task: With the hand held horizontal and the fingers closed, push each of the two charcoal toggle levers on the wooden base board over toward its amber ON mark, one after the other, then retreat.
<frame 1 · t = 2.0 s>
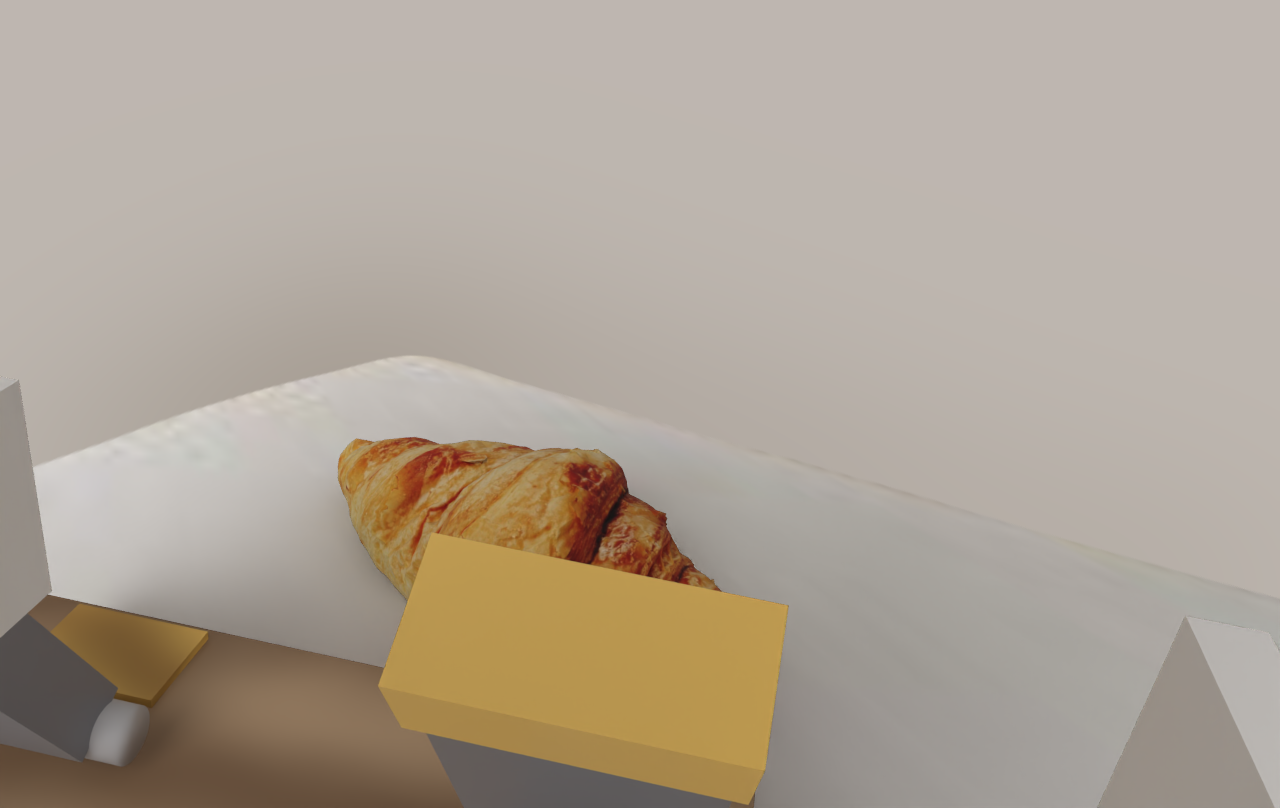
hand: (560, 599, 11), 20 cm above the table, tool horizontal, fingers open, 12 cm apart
lever 1: (594, 777, 22), point 10 cm above the table, hinge at -30.0°
croissant: (528, 593, 44), on the table
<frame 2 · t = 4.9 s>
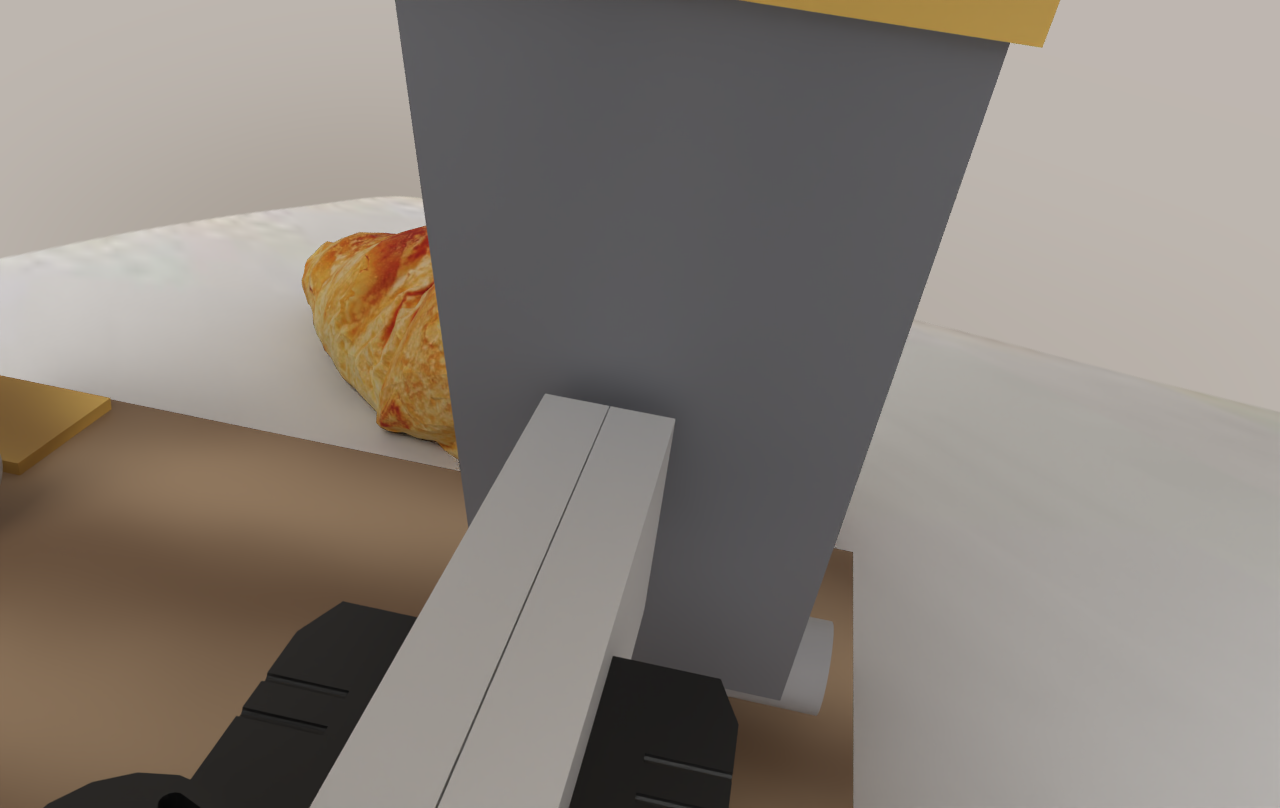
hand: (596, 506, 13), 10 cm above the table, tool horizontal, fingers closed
wooden base board: (224, 718, 21), on the table
lever 1: (667, 366, 13), point 11 cm above the table, hinge at -23.0°, touching gripper
croissant: (532, 419, 35), on the table
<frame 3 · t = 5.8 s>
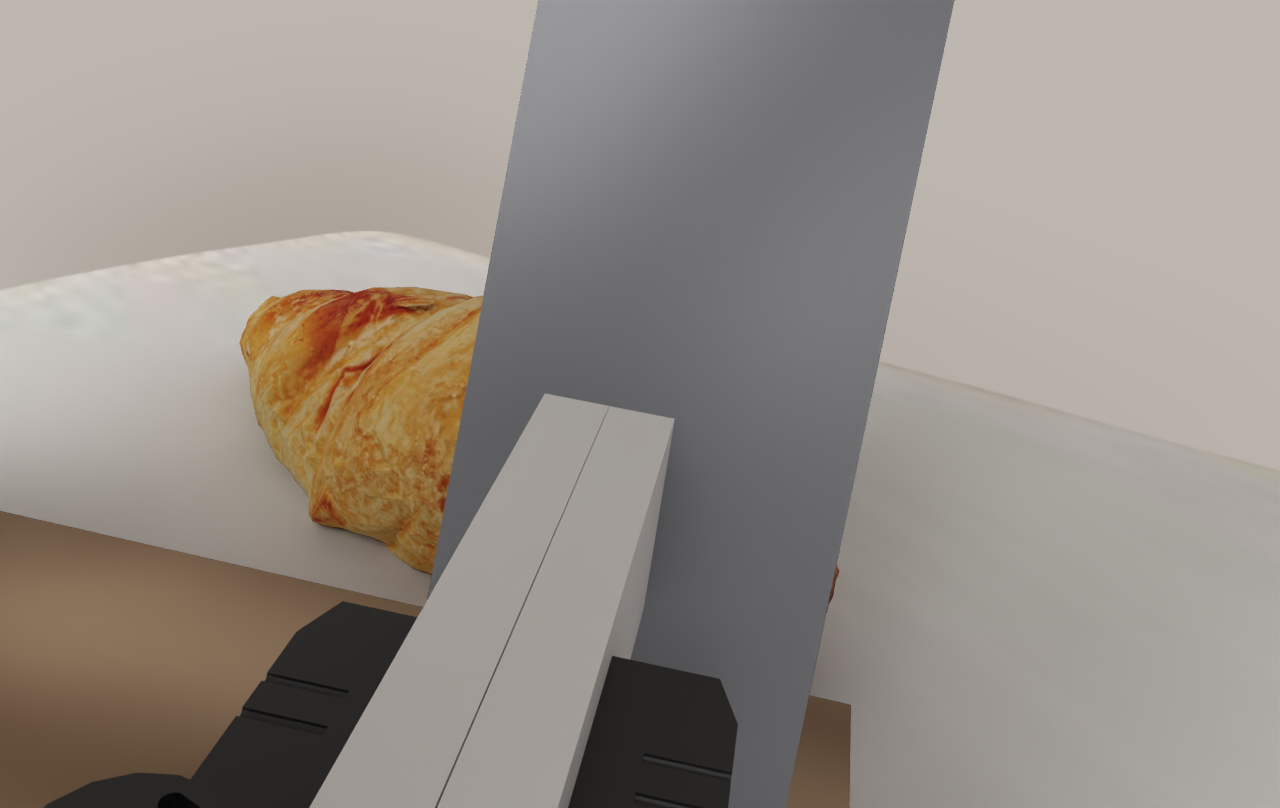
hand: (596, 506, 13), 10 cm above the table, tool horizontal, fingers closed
lever 1: (675, 368, 14), point 11 cm above the table, hinge at 24.2°, touching gripper
croissant: (492, 504, 31), on the table
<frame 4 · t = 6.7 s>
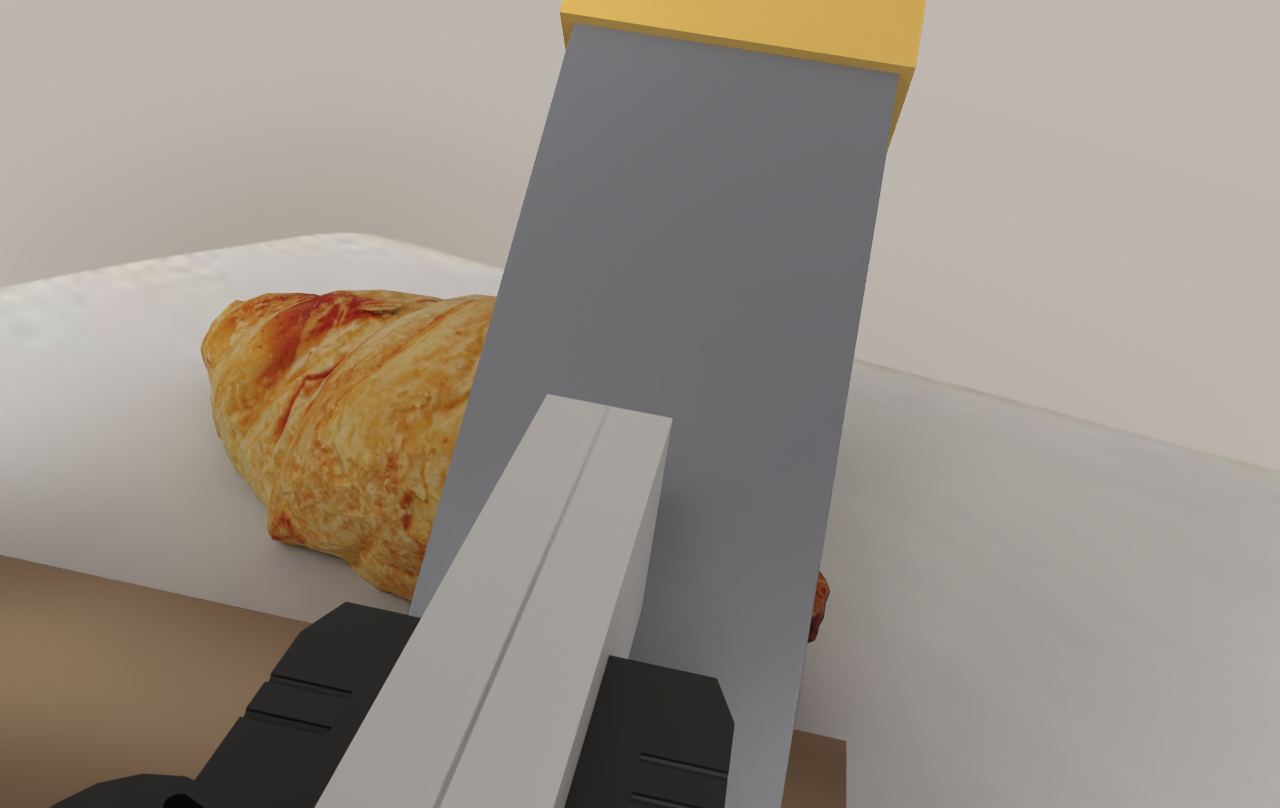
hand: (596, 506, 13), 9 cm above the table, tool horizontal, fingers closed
lever 1: (659, 415, 15), point 9 cm above the table, hinge at 45.8°, touching gripper
croissant: (465, 518, 29), on the table
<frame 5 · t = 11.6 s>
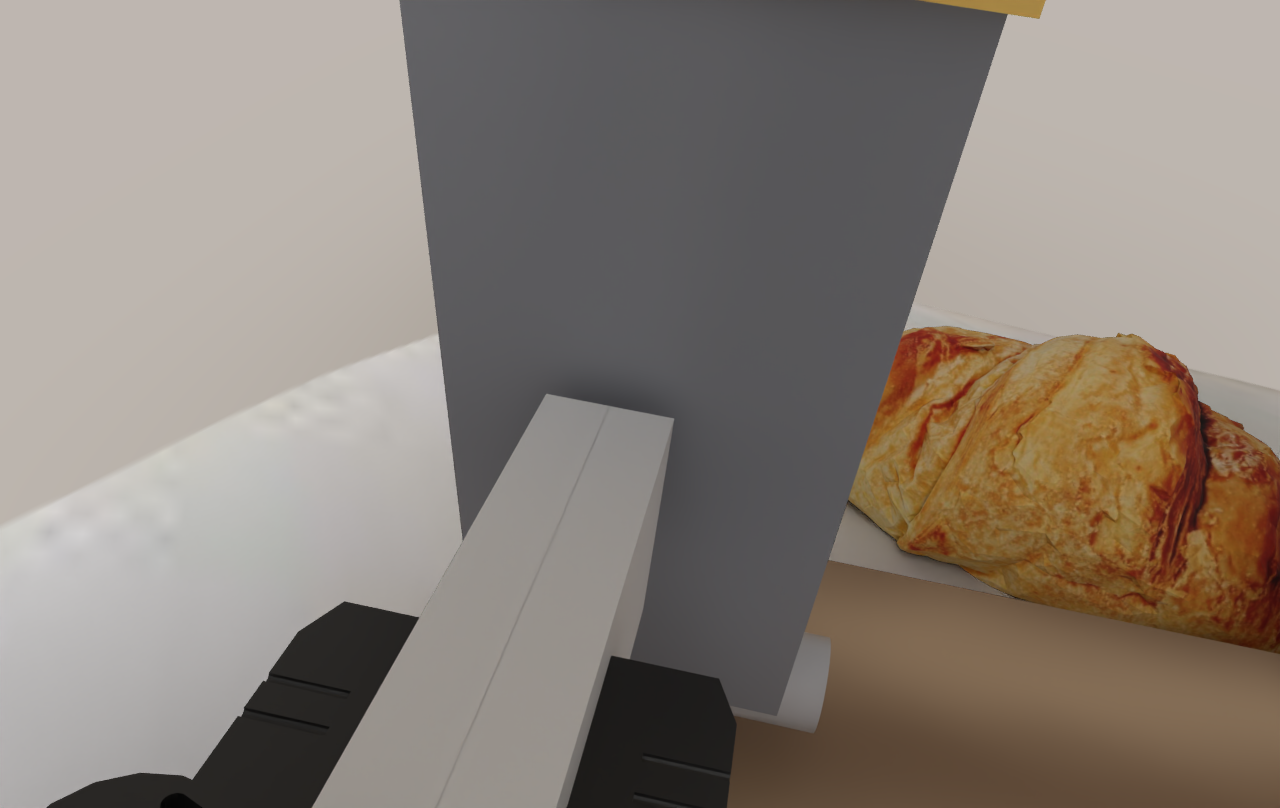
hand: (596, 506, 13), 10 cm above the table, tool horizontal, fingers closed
lever 2: (664, 365, 13), point 11 cm above the table, hinge at -20.4°, touching gripper
croissant: (1021, 533, 33), on the table
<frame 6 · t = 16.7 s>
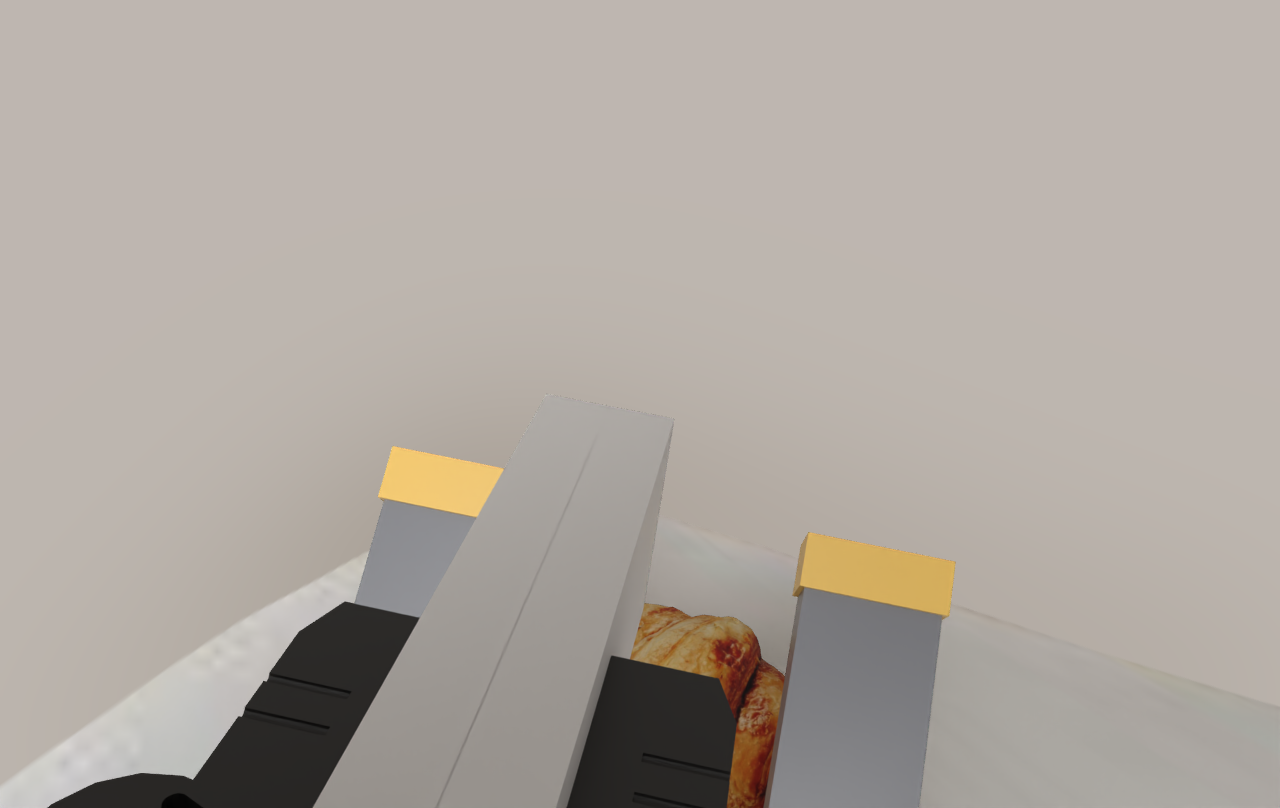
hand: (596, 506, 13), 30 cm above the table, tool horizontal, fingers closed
lever 2: (414, 666, 39), point 9 cm above the table, hinge at 44.3°
lever 1: (845, 762, 38), point 9 cm above the table, hinge at 45.9°
croissant: (670, 736, 51), on the table
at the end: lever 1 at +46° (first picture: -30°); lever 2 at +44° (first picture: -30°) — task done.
